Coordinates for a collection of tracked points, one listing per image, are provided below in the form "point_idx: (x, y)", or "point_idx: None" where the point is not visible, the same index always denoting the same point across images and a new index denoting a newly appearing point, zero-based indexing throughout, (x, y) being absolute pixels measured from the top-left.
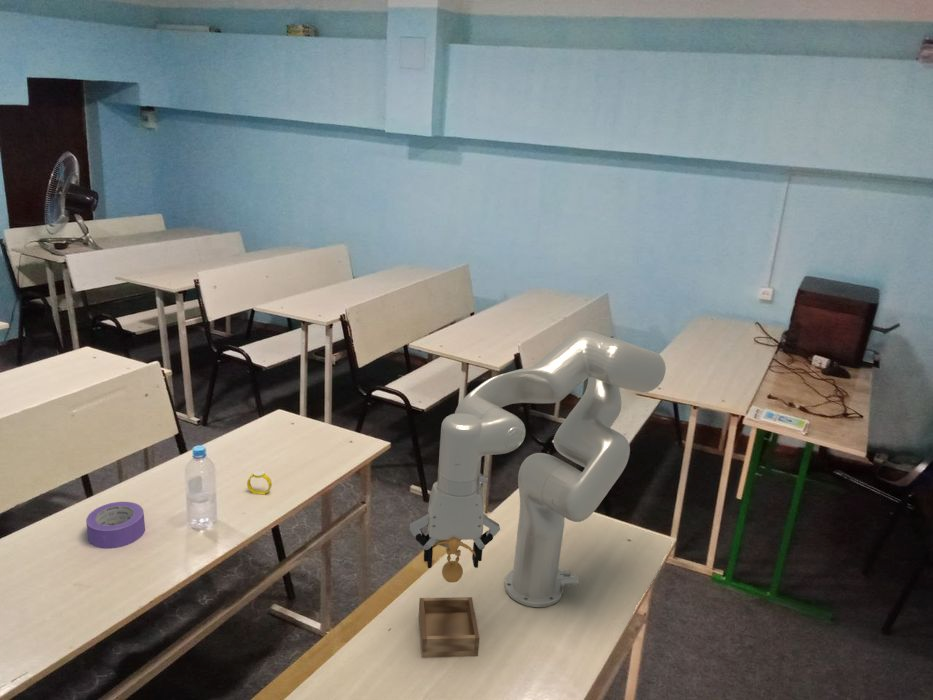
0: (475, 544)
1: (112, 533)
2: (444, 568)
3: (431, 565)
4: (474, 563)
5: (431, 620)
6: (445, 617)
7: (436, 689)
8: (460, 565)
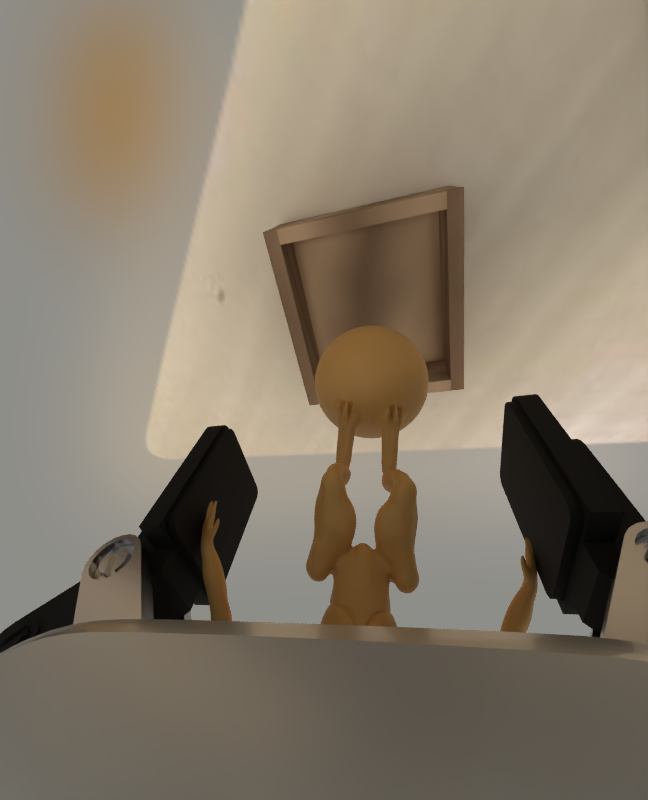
0: (576, 559)
1: None
2: (325, 414)
3: (252, 505)
4: (509, 501)
5: (322, 269)
6: (363, 247)
7: (358, 446)
8: (416, 396)
